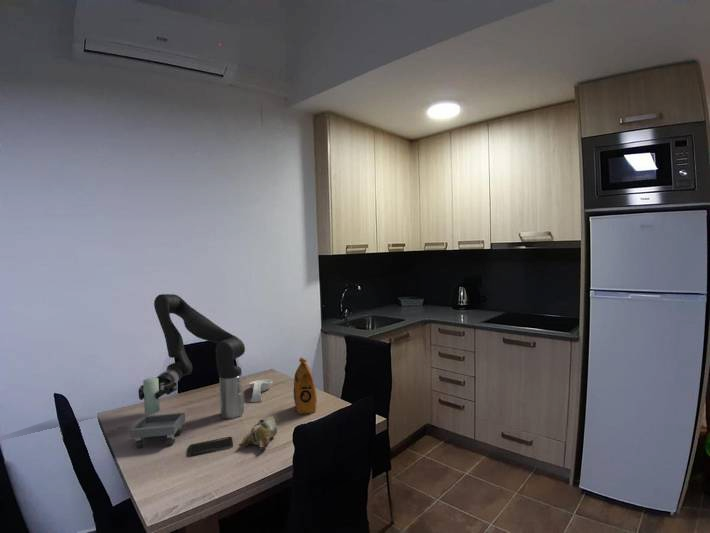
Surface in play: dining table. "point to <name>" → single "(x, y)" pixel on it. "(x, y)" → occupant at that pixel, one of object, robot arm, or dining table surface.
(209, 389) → the dining table surface
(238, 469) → the dining table surface
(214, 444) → the phone
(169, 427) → the tray
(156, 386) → the pale green cylinder
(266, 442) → the ceramic sculpture
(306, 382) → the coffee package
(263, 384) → the white t-shaped piece
